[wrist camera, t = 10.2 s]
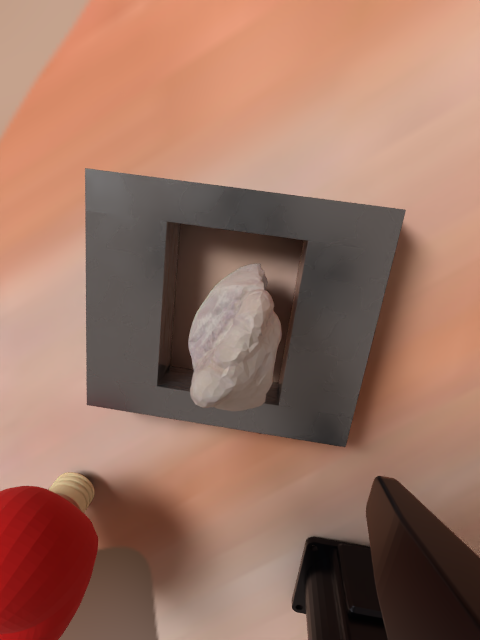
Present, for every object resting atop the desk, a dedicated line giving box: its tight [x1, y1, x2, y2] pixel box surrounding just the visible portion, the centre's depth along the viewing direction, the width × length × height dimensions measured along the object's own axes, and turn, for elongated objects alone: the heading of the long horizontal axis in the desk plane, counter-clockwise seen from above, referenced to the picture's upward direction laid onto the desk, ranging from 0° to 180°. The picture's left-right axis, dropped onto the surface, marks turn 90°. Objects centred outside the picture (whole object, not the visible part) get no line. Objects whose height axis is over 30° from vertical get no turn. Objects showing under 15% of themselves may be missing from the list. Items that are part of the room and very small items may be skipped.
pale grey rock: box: [188, 264, 282, 411], centre depth 15 cm, size 6×4×10 cm, turn 175°
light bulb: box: [0, 472, 98, 640], centre depth 20 cm, size 9×7×10 cm
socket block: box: [85, 168, 406, 447], centre depth 19 cm, size 12×14×2 cm
